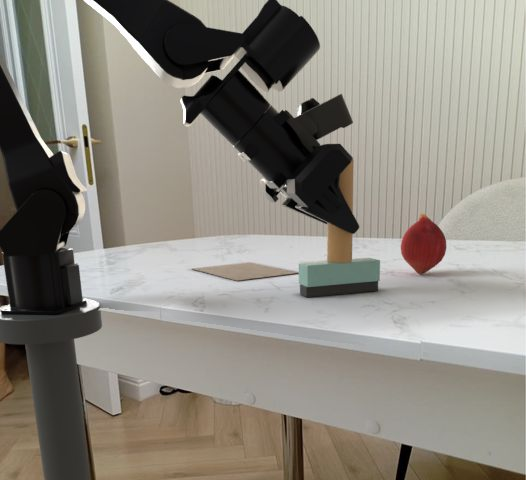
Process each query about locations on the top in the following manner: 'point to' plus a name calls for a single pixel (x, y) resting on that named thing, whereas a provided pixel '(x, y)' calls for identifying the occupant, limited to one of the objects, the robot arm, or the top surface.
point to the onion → (423, 245)
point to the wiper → (339, 259)
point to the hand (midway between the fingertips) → (351, 229)
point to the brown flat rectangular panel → (244, 271)
